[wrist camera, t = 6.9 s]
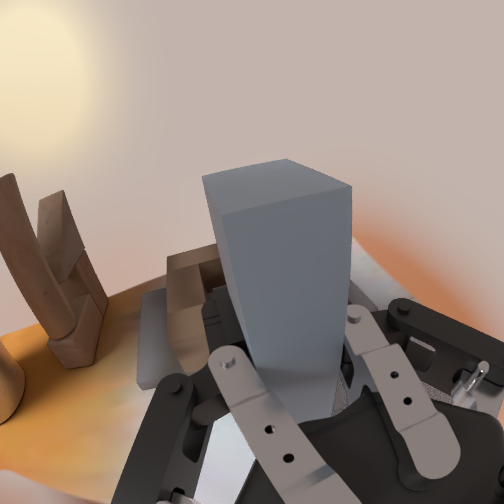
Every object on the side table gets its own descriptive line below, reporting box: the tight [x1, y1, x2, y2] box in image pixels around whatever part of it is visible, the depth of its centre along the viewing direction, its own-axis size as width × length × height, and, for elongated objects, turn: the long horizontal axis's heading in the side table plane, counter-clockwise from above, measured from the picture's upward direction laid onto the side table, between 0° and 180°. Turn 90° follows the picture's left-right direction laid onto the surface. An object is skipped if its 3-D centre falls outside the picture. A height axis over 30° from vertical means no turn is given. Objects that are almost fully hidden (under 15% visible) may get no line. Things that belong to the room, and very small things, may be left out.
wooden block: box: [0, 173, 108, 369], centre depth 20 cm, size 4×11×18 cm, turn 15°
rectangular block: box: [202, 159, 352, 424], centre depth 11 cm, size 3×4×14 cm
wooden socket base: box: [137, 243, 378, 390], centre depth 24 cm, size 20×12×4 cm, turn 106°
